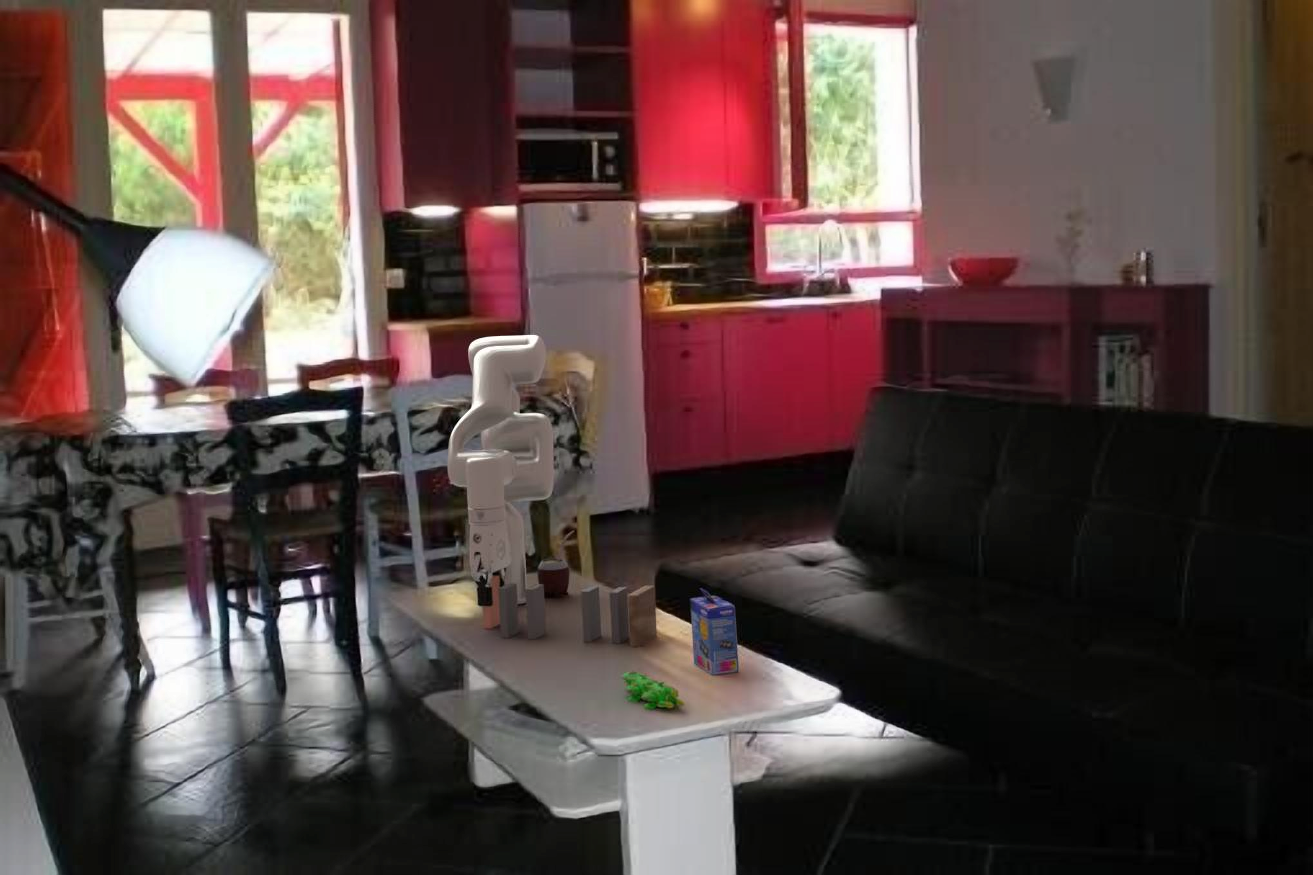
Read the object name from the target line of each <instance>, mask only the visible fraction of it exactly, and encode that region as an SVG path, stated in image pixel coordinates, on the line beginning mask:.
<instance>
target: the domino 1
mask: <svg viewBox="0 0 1313 875" xmlns="http://www.w3.org/2000/svg"><path fill="white" fill-rule="evenodd" d="M485 580H486V578H485ZM490 587H492V595H493V605H492V606H482V614H483V628H484V629H493V628H496V627H498V626H500V612H499V594H498V588H500V576H497V575H492V576H491V579H490Z"/></svg>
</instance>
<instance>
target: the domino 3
mask: <svg viewBox="0 0 1313 875" xmlns="http://www.w3.org/2000/svg"><path fill="white" fill-rule="evenodd" d="M525 590H526V603H525V604H526V605H525V606H526V623H527V640H537V639H539V638H540V637H543V636H544V635H546V634H547V625H546V608H545V607H546V605H545V604H546V602H545V597H544V584H539V583H537V584H533V585H531V586H529V587H527V589H525Z"/></svg>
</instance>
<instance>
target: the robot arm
mask: <svg viewBox="0 0 1313 875" xmlns="http://www.w3.org/2000/svg"><path fill="white" fill-rule="evenodd" d="M467 351H468V352H467V353H468V362H469V365H470V366H469V367H470V371H471V374H472V388H471V389H472V391H471V407H470V409H469V410H468V411H467V412H466V413H465V414H463V416H462V417H461V418H460V419H459V420H458V422H457V423H456V424H455V425H454V428H453V430H452V432H451V434H450V437H449V439H448V440H449V441H448V452H447V453H448V454H447V475H448V480H449V481H450V483H451V484H452V485H454V486H456V487H460V488H466V498H467V511H468V512H467V514H468V524H469V565H470V569H471V571H470V577H471V578H472V579H473V582H475V587H476V595H477V598H476V599H477V600H476V601H477V606H479V607H483V606H492V605H493V595H492V587H490V579H491V576H492V575H497V576H500V587H502V586H504V585H506V584H509V583H517V602H518V605H522V604H526V590H525V589H527V588H528V585H527V584H528V583H527V567H526V566H527V565H526V551H525V550H526V548H525V546H526V545H525V528H524V527H525V526H524V525H525V524H524V520H523V517H522V515H521V514H520V512H519V511H518V510H517V509H516V508H515V507H514V506H513V504H512V503H513V502H529V501H543V500H546V499H548V498H550V496H552V493H553V491H554V483H555V481H554V480H555V474H554V470H555V469H554V458H555V456H554V453H555V452H554V431H553V425H552V423H551V420H550V418H549V417H548V416H547V415H545V414H543V413H538V412H530V413H529V412H528V413H520V409H521V405H520V403H521V401H520V400H521V398H520V395H519V393H518V392H517V389H515V388H514V387H513V385H525V384H527V385H528V384H535V383H538V381H539V380H540V378H541V376H542V373H543V370H544V369H545V366H546V362H547V349H546V344H545V341H544V340H543V339H542V337H540V335H539V336H538V335H536V334H527V335H526V334H524V335H500V336H499V335H498V336H486V337H482V338H478V339H475V340H474V341H472V342H471V343H470V345H469V347H468V350H467ZM478 434H480V436H481V439H480V440H481V447H482V449H480V450H479V449H478V450H477V449H475V450H464V447H465V446H466V444H468V442H469V441H470V440H471V439H472V438H473V437H475V436H477V435H478ZM485 578H486V580H485Z"/></svg>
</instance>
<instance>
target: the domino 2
mask: <svg viewBox="0 0 1313 875" xmlns="http://www.w3.org/2000/svg"><path fill="white" fill-rule="evenodd" d="M498 594H499V612H500V624H499V626H500V638H501V639H509V638H511V637H514V636H515V635H516V634H517V635H518V633H520V624H519V620H520V619H519V604H518V602H517V583H509V584H506V585H504V586H502V587H500V588H498Z"/></svg>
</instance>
